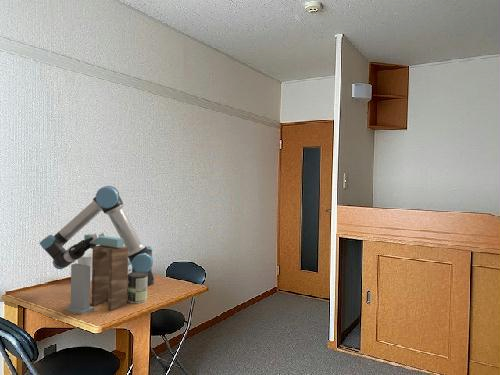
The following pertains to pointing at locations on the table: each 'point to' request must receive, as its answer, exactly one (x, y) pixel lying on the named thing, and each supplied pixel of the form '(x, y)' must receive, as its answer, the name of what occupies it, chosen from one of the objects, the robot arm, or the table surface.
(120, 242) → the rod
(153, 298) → the table surface
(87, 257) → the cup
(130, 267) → the light bulb box
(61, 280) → the table surface
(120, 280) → the walnut wood block
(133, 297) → the coffee can
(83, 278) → the pedestal
